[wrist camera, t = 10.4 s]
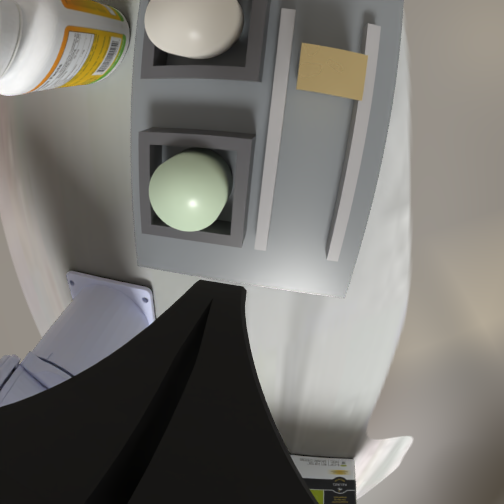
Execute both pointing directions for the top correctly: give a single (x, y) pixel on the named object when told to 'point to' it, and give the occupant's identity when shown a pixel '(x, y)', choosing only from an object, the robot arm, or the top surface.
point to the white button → (194, 26)
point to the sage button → (191, 189)
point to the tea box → (328, 478)
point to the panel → (268, 144)
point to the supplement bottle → (58, 44)
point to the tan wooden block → (331, 71)
